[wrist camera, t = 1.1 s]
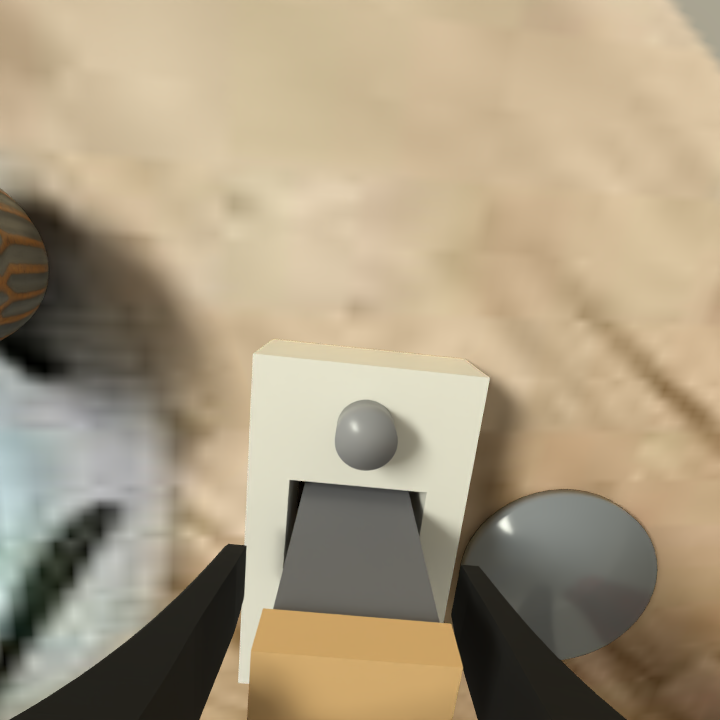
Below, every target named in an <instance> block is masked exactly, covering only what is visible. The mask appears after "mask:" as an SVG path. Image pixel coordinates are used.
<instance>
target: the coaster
mask: <svg viewBox="0 0 720 720" xmlns="http://www.w3.org/2000/svg"><path fill="white" fill-rule="evenodd" d="M461 565H472V566H479V567H480V568H481V569H482V570H483V572H484V573H485V574H486V575H487V577H488V578H489V579H490V580H491V582H492V583H493V584H494V585H495V587H496V588H497V589H498V590H499V592H500V593H501V594H502V595H503V596H504V598H505V599H506V600H507V601H508V603H509V604H510V605H511V606H512V607H513V609H514V610H515V611H516V612H517V613H518V614H519V616H520V617H521V618H522V619H523V620H524V621H525V622H526V624H527V625H528V626H529V627H530V628H531V629H532V630H533V632H534V633H535V634H536V635H537V636H538V637H539V638H540V639H541V640H542V641H543V642H544V643H545V644H546V646H547V647H548V648H549V649H550V650H551V651H552V652H553V653H554V654H555V655H556V656H557V657H558V658H559V659H560V660H564V659H569V658H575V657H578V656H582V655H585V654H588V653H591V652H593V651H596V650H598V649H600V648H602V647H604V646H606V645H608V644H609V643H611V642H612V641H614V640H615V639H617V638H618V637H620V636H621V635H622V634H623V633H625V632H626V631H627V630H628V629H629V628H630V627H631V626H632V625H633V624H634V623H635V622H636V621H637V619H638V618H639V617H640V616H641V614H642V613H643V612H644V610H645V608H646V606H647V605H648V603H649V601H650V598H651V596H652V594H653V591H654V587H655V583H656V576H657V559H656V555H655V550H654V547H653V545H652V542H651V540H650V538H649V536H648V535H647V533H646V531H645V530H644V529H643V528H642V526H641V525H640V524H639V523H638V522H637V521H636V520H635V519H634V518H633V517H632V516H630V515H629V514H628V513H627V512H626V511H625V510H623V509H622V508H621V507H620V506H619V505H617V504H615V503H614V502H612V501H611V500H609V499H606V498H604V497H602V496H600V495H597V494H593V493H590V492H586V491H580V490H568V489H559V490H548V491H543V492H538V493H534V494H531V495H528V496H525V497H522V498H520V499H518V500H516V501H513V502H511V503H510V504H508V505H506V506H505V507H503V508H501V509H500V510H498V511H497V512H496V513H494V514H493V515H492V516H491V517H489V518H488V519H487V520H486V521H485V522H484V523H483V524H482V525H481V527H480V528H479V529H478V530H477V532H476V533H475V534H474V535H473V537H472V539H471V540H470V542H469V544H468V546H467V548H466V550H465V553H464V555H463V559H462V562H461Z"/></svg>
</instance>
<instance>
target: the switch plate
mask: <svg viewBox="0 0 720 720" xmlns="http://www.w3.org/2000/svg"><path fill="white" fill-rule="evenodd" d="M489 380H490V378H489V377H488V376H487V375H486V374H484V373H483V372H482V371H480V370H479V369H478V368H476V367H475V366H474V365H472V364H471V363H470V362H468V361H467V360H466V359H462V358H452V357H443V356H433V355H423V354H414V353H404V352H394V351H385V350H375V349H365V348H356V347H346V346H337V345H327V344H317V343H308V342H298V341H288V340H279V339H272V340H271V341H270V342H268V343H267V344H266V345H264V346H263V347H261V348H260V349H259V350H257V351H256V352H255V353H253V366H252V388H251V411H250V433H249V455H248V478H247V500H246V522H245V544H244V545H245V546H247V549H246V571H245V593H244V600H243V603H242V611H241V634H240V656H239V678H238V683H246V684H249V676H250V657H251V649H252V645H253V642H254V638H255V635H256V631H257V628H258V624H259V621H260V617H261V614H262V610H263V608H265V609H273V607H274V603H275V599H276V595H277V591H278V587H279V583H280V580H281V576H282V572H283V568H284V564H285V560H286V556H287V552H288V548H289V544H290V540H291V536H292V532H293V528H294V524H295V520H296V509H297V497H298V484H299V481H308V482H319V483H330V484H341V485H352V486H362V487H373V488H384V489H395V490H406V491H409V496H410V500H411V504H412V508H413V512H414V517H415V521H416V525H417V529H418V533H419V538H420V542H421V546H422V550H423V554H424V559H425V563H426V567H427V571H428V575H429V580H430V584H431V588H432V592H433V596H434V600H435V605H436V609H437V613H438V617H439V621H440V623H443V622H444V617H445V612H446V607H447V601H448V596H449V591H450V586H451V580H452V575H453V570H454V565H455V559H456V554H457V549H458V544H459V538H460V533H461V528H462V522H463V517H464V512H465V507H466V501H467V496H468V491H469V486H470V480H471V475H472V470H473V465H474V459H475V454H476V449H477V444H478V438H479V433H480V428H481V423H482V417H483V412H484V407H485V401H486V396H487V391H488V386H489Z"/></svg>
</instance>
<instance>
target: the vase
mask: <svg viewBox="0 0 720 720" xmlns="http://www.w3.org/2000/svg"><path fill="white" fill-rule="evenodd" d="M48 277H49V267H48V258H47V254H46V250H45V247H44V244H43V241H42V239H41V237H40V235H39V233H38V231H37V229H36V228H35V226H34V224H33V223H32V222H31V220H30V219H29V217H28V216H27V214H26V213H25V212H24V211H23V209H22V208H21V207H20V206H19V205H18V204H17V203H16V202H15V201H14V200H13V199H12V198H11V197H10V196H9V195H8V194H7V193H5V192H4V191H3V190H2V189H0V341H1V340H3V339H4V338H6V337H8V336H9V335H11V334H13V333H14V332H15V331H17V330H18V329H19V328H20V327H22V326H23V325H24V324H25V323H26V322H27V321H28V320H29V319H30V318H31V317H32V316H33V315H34V313H35V312H36V310H37V309H38V307H39V305H40V303H41V301H42V299H43V297H44V294H45V292H46V288H47V284H48Z"/></svg>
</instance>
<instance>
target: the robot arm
mask: <svg viewBox="0 0 720 720" xmlns="http://www.w3.org/2000/svg"><path fill="white" fill-rule="evenodd" d="M246 549H247V546H245V545H234V544H228V545H226V546H225V547H224V548H223V549H222V550H221V552H220V553H219V554H218V555H217V556H216V557H215V558H214V559H213V560H212V562H211V563H210V564H209V565H208V566H207V567H206V568H205V569H204V570H203V571H202V572H201V573H200V574H199V575H198V577H197V578H196V579H195V580H194V581H193V582H192V583H191V584H190V585H189V586H188V587H187V588H186V589H185V590H184V591H183V592H182V593H181V594H180V595H179V596H178V597H177V598H176V599H174V600H173V601H172V602H171V603H170V604H169V605H168V606H167V607H166V608H165V609H164V610H163V611H161V612H160V613H159V614H158V615H157V616H156V617H155V618H154V619H153V620H152V621H150V622H149V623H148V624H147V625H146V626H145V627H143V628H142V629H141V630H140V631H139V632H137V633H136V634H135V635H134V636H133V637H131V638H130V639H129V640H128V641H126V642H125V643H124V644H123V645H121V646H120V647H119V648H117V649H116V650H115V651H113V652H112V653H111V654H109V655H108V656H107V657H105V658H104V659H103V660H101V661H100V662H99V663H97V664H96V665H95V666H93V667H92V668H90V669H89V670H88V671H86V672H85V673H83V674H82V675H80V676H79V677H78V678H76V679H75V680H73V681H71V682H70V683H68V684H67V685H65V686H64V687H62V688H61V689H59V690H58V691H56V692H55V693H53V694H52V695H50V696H48V697H47V698H45V699H44V700H42V701H40V702H39V703H37V704H36V705H34V706H32V707H31V708H29V709H27V710H26V711H24V712H22V713H20V714H19V715H17V716H15V717H13V718H12V719H10V720H199V719H200V717H201V714H202V711H203V709H204V706H205V704H206V702H207V699H208V697H209V694H210V692H211V689H212V687H213V684H214V682H215V679H216V677H217V674H218V672H219V669H220V667H221V664H222V662H223V659H224V657H225V654H226V652H227V649H228V647H229V644H230V641H231V639H232V636H233V634H234V631H235V628H236V624H237V621H238V618H239V614H240V611H241V607H242V603H243V600H244V593H245V571H246ZM451 616H452V622H453V628H454V634H455V639H456V643H457V647H458V650H459V654H460V658H461V661H462V665H463V671H464V674H465V678H466V681H467V684H468V688H469V691H470V695H471V698H472V701H473V705H474V708H475V712H476V715H477V718H478V720H626V719H625V718H624V717H623V716H621V715H620V714H619V713H618V712H617V711H616V710H614V709H613V708H612V707H611V706H610V705H609V704H607V703H606V702H605V701H604V700H603V699H602V698H600V697H599V696H598V695H597V694H596V693H595V692H594V691H593V690H591V689H590V688H589V687H588V686H587V685H586V684H585V683H584V682H583V681H582V680H581V679H580V678H579V677H577V676H576V675H575V674H574V673H573V672H572V671H571V670H570V669H569V668H568V667H567V666H566V665H565V664H564V663H563V662H562V661H561V660H560V659H559V658H558V657H557V656H556V655H555V654H554V653H553V652H552V651H551V650H550V649H549V648H548V647H547V646H546V644H545V643H544V642H543V641H542V640H541V639H540V638H539V637H538V636H537V635H536V634H535V633H534V632H533V630H532V629H531V628H530V627H529V626H528V625H527V624H526V622H525V621H524V620H523V619H522V618H521V617H520V616H519V614H518V613H517V612H516V611H515V610H514V609H513V607H512V606H511V605H510V604H509V603H508V601H507V600H506V599H505V598H504V596H503V595H502V594H501V593H500V592H499V590H498V589H497V588H496V587H495V585H494V584H493V583H492V582H491V580H490V579H489V578H488V577H487V575H486V574H485V573H484V572H483V570H482V569H481V568H480V567H479V566H472V565H461V567H460V572H459V577H458V583H457V588H456V593H455V598H454V603H453V608H452V613H451Z"/></svg>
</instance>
